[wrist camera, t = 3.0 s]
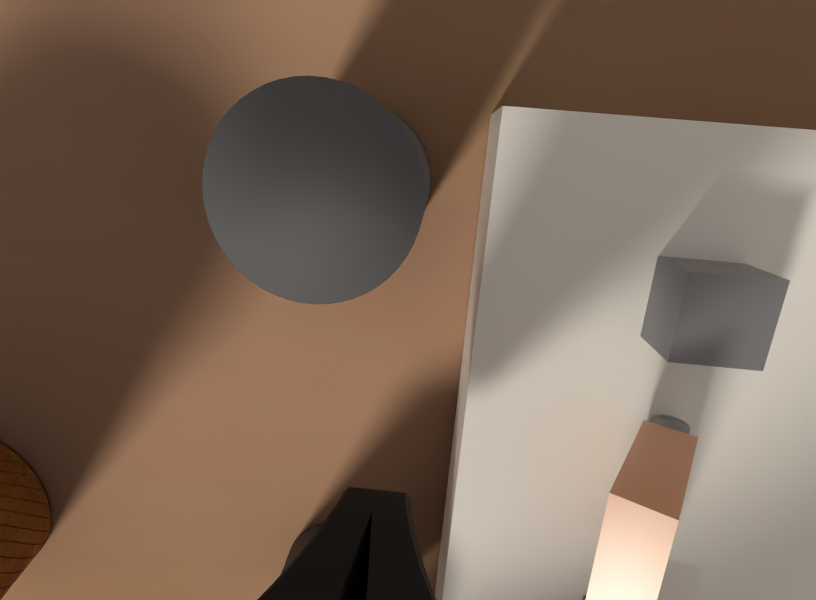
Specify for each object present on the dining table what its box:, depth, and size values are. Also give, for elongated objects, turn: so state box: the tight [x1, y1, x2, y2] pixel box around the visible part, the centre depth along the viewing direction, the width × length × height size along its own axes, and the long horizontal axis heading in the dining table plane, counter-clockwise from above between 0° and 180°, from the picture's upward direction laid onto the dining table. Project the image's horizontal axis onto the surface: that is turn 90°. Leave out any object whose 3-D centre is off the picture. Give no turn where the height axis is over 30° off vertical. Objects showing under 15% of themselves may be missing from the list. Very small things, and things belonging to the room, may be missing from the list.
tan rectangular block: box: [585, 415, 698, 600], centre depth 12 cm, size 1×4×4 cm, turn 177°
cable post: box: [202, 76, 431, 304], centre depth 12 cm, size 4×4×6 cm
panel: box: [435, 106, 816, 600], centre depth 14 cm, size 12×18×5 cm, turn 176°
